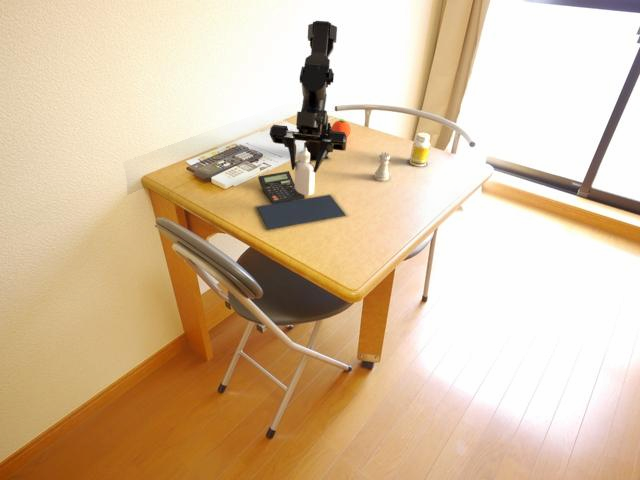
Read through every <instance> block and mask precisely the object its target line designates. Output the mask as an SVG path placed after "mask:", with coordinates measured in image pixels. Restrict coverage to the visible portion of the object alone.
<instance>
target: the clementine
mask: <svg viewBox="0 0 640 480" xmlns="http://www.w3.org/2000/svg"><path fill="white" fill-rule="evenodd" d="M331 127H332V131H338V132H345V133H346V135H347V138H349V136H350V135H351V129H352V128H351V126H350V124H349V122H347V121H346V120H345V119H339V120H336V121H335V122H333V124H332V125H331Z"/></svg>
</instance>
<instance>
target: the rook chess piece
mask: <svg viewBox="0 0 640 480" xmlns="http://www.w3.org/2000/svg"><path fill="white" fill-rule="evenodd" d="M379 159H380V160H379V161H378V162H379V166H378V168H377V169H376V171H375V172H374V178H375V180H377V181H379V182H386V181H388V180H389V179H390V172H389V170H388V165H389V163H390V162H389V160H390V159H391V156H390V153H389V152H381V153H380V155H379Z"/></svg>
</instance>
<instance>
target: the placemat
mask: <svg viewBox="0 0 640 480" xmlns="http://www.w3.org/2000/svg"><path fill="white" fill-rule="evenodd" d="M256 208H257V210H258V212H259V215H260V217H261V218H262V221H263V222H264V224H265V227H266V228H267V230H274V229H278V228H284V227H289V226H295V225H301V224H307V223H312V222H317V221H323V220H330V219H333V218H340V217H345V216H346V213H345V212H344V211H343V209H342V208H341V207H340V205H338V203H337V202H336V201H335V200H334V198H333V197H332V196H331V194H327V195H321V196H314V197H308V198H304V199H299V200H294V201H289V202H283V203H276V204H272V203H270V204H264V205H259V206H256Z"/></svg>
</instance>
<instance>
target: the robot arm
mask: <svg viewBox="0 0 640 480" xmlns="http://www.w3.org/2000/svg"><path fill="white" fill-rule="evenodd" d="M337 36H338V26H336V25H334V24H332V22H330V21H328V20H315V21H312V23H310V24H308V25H307V41H308V42H309V47H310V50H311V51H310V54H309V55H308V56H306V57H305V60H304V65H303V66H301V69H300V73H299V84H301V92H302V98H303V99H302V103H301V104H302V105H301V109H300V111H297V113H296V122H295V126H296V130H297V131H292V130H289V128H288V126H287V125H282V124H281V125H280V124H273V125H272V126H270V129H269V137H270V139H271V141H272V142H273V143H274V144H280V145H283V146H284V147H285V148H287V149H288V153H289V158H290V160H289V161H290V164H291V170H292V171H295V162H296V161H297V159H296V158H297V145H296V141H301V142H303V143H304V144H303V148H304V147H306V148H307V151H308V152H309V153H310V162H313V161H315V164H314V167H315V169H314V172H315V174H316V173H317V172H318V170H319V168H320V166H322V163H323V161H324V160H327V159H329V156H328V154H329V153H333V152H334V151H346V149H347V144H348V143H347V142H348V141H347V139H348V137H347V135H346V133H345V132H338V131H332V125H331V122H329V116H328V111H327V110H326V102H327V101H326V100H327V97H328V96H327V95H328V94H327V88H329V86H331V84H332V83H334V79H335V78H334V77H335V73H334V72H333V68H330V67H331V66H330V63H331V60H330V58H329V57H330V55H331V54H332V53H333V51H334V48H335V47H334V45H335V44H336V43H337V38H338V37H337Z"/></svg>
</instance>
